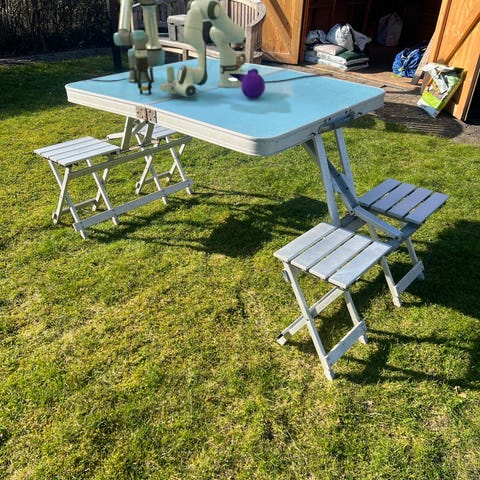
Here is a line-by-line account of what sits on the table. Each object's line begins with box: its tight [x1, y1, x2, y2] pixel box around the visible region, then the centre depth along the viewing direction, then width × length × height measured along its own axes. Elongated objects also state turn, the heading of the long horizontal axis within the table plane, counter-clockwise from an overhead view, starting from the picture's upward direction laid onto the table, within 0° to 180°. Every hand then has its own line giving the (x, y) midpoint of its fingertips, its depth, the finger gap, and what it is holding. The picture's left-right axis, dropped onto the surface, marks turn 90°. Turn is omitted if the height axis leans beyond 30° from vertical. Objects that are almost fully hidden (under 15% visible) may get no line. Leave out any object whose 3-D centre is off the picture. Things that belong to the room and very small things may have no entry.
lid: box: [141, 85, 149, 92], centre depth 299 cm, size 6×6×2 cm
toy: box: [229, 68, 266, 100], centre depth 284 cm, size 16×18×27 cm
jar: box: [166, 65, 176, 96], centre depth 296 cm, size 5×5×17 cm
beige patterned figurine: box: [236, 52, 247, 70], centre depth 365 cm, size 21×12×15 cm, turn 120°
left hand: (145, 93), depth 301 cm, fingers closed on lid, 5 cm apart
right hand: (171, 83), depth 298 cm, fingers closed on jar, 5 cm apart
